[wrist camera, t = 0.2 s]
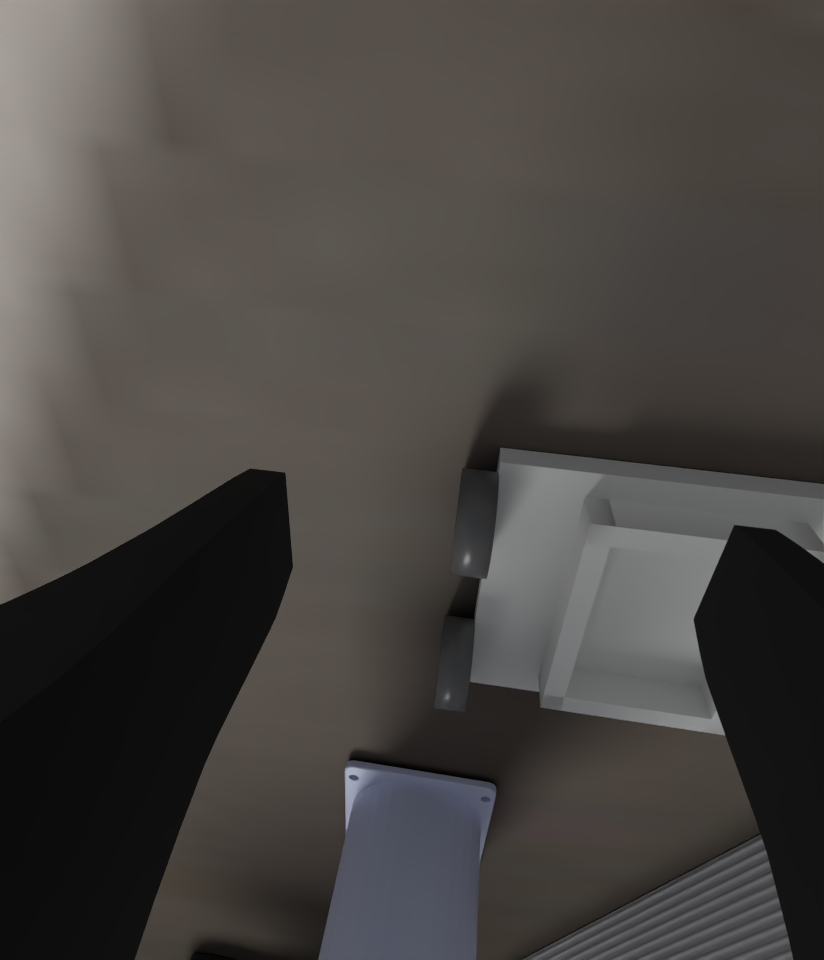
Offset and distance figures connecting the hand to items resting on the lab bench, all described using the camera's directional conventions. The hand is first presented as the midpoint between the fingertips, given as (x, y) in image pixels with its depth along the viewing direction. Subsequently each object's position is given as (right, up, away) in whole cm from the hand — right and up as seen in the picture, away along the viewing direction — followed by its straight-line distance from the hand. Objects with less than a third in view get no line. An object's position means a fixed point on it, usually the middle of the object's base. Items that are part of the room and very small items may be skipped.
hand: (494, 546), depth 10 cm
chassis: (+8, -3, +13) cm, 15 cm away
